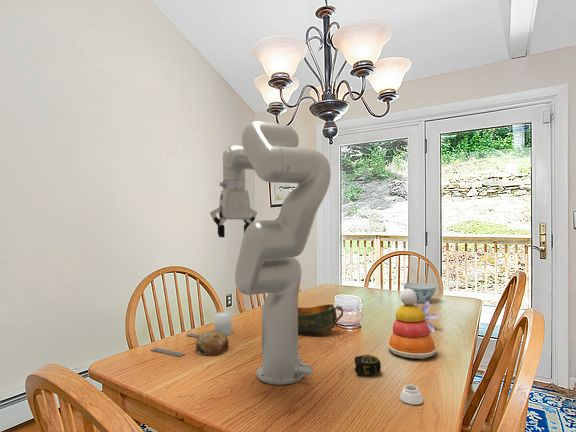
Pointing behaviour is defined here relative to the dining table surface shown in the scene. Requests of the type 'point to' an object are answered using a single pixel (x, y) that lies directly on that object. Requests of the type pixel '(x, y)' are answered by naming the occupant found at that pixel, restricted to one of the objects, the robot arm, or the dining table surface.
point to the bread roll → (211, 343)
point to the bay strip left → (168, 352)
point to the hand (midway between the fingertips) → (234, 236)
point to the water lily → (428, 315)
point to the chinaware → (421, 290)
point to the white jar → (411, 395)
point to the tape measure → (367, 365)
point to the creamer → (317, 320)
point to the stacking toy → (411, 330)
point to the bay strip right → (193, 335)
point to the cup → (223, 322)
